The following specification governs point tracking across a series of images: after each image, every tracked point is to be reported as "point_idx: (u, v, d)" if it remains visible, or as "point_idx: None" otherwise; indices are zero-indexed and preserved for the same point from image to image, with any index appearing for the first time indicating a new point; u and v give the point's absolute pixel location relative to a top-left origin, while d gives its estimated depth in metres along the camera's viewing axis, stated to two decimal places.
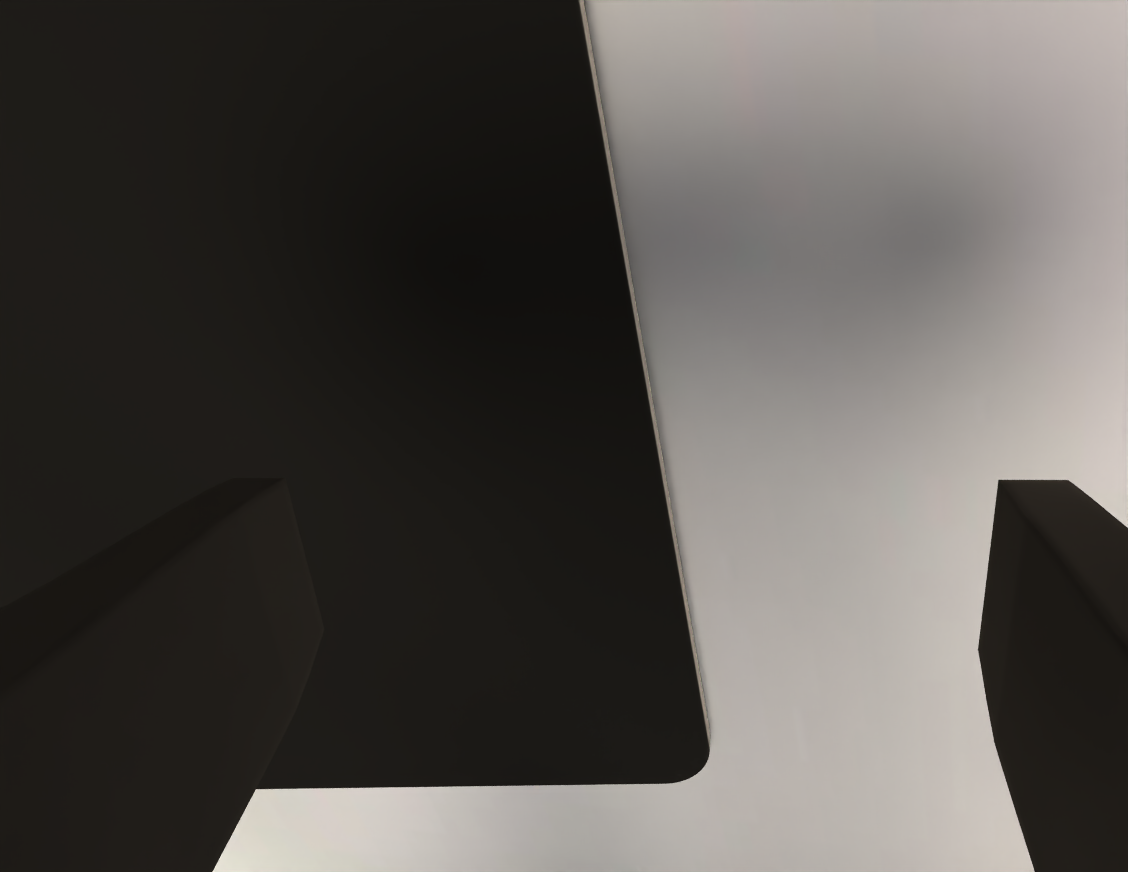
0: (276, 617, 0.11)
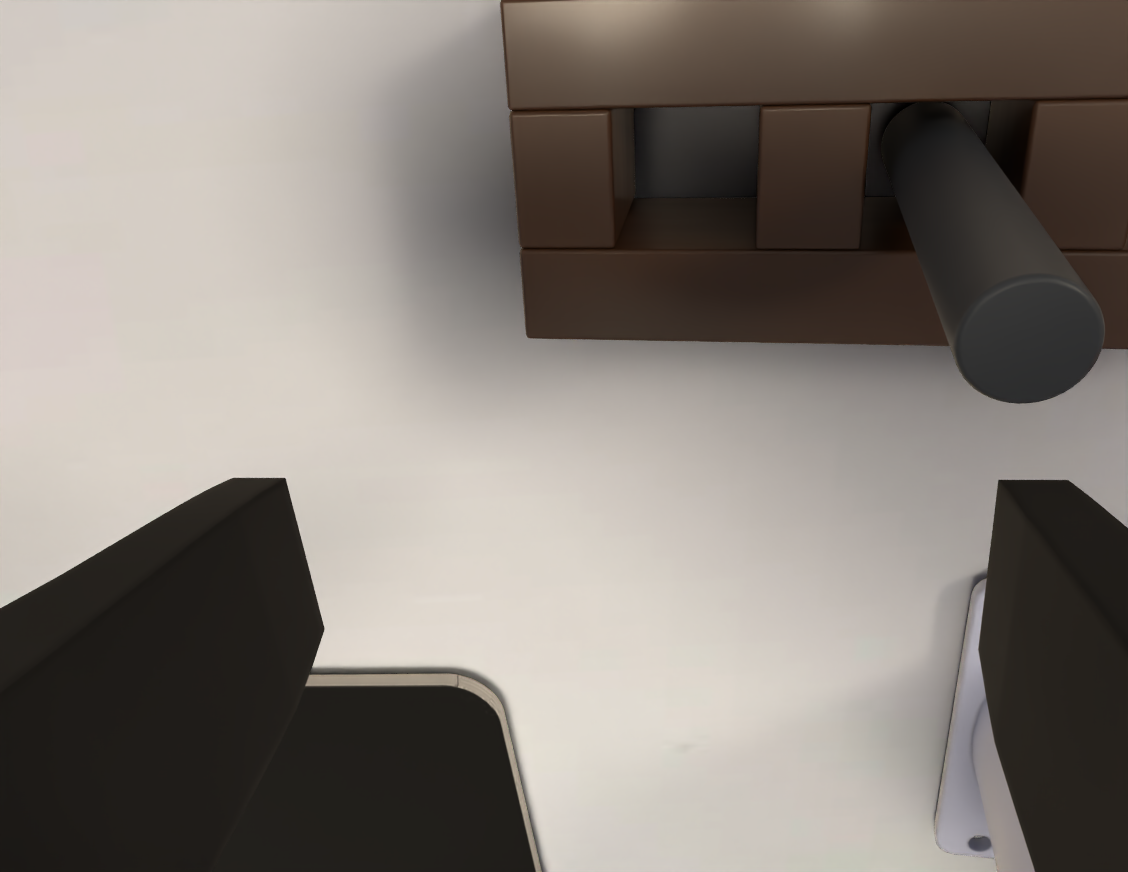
0: (276, 618, 0.11)
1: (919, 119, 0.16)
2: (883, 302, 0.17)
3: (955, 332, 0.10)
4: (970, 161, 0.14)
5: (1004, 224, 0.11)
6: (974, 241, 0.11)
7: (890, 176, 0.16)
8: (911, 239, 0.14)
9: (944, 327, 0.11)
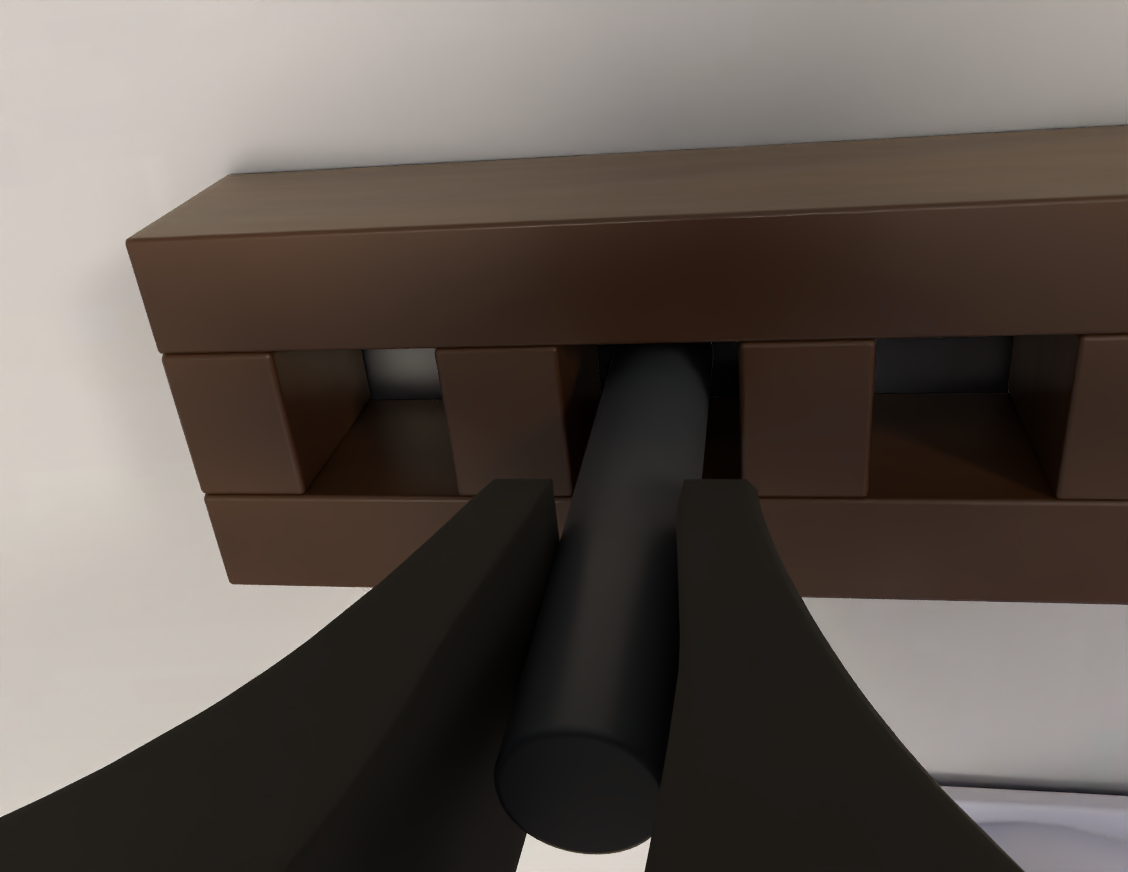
0: None
1: (633, 344, 0.14)
2: None
3: (494, 778, 0.08)
4: (635, 444, 0.11)
5: (594, 597, 0.09)
6: (554, 625, 0.09)
7: None
8: None
9: None
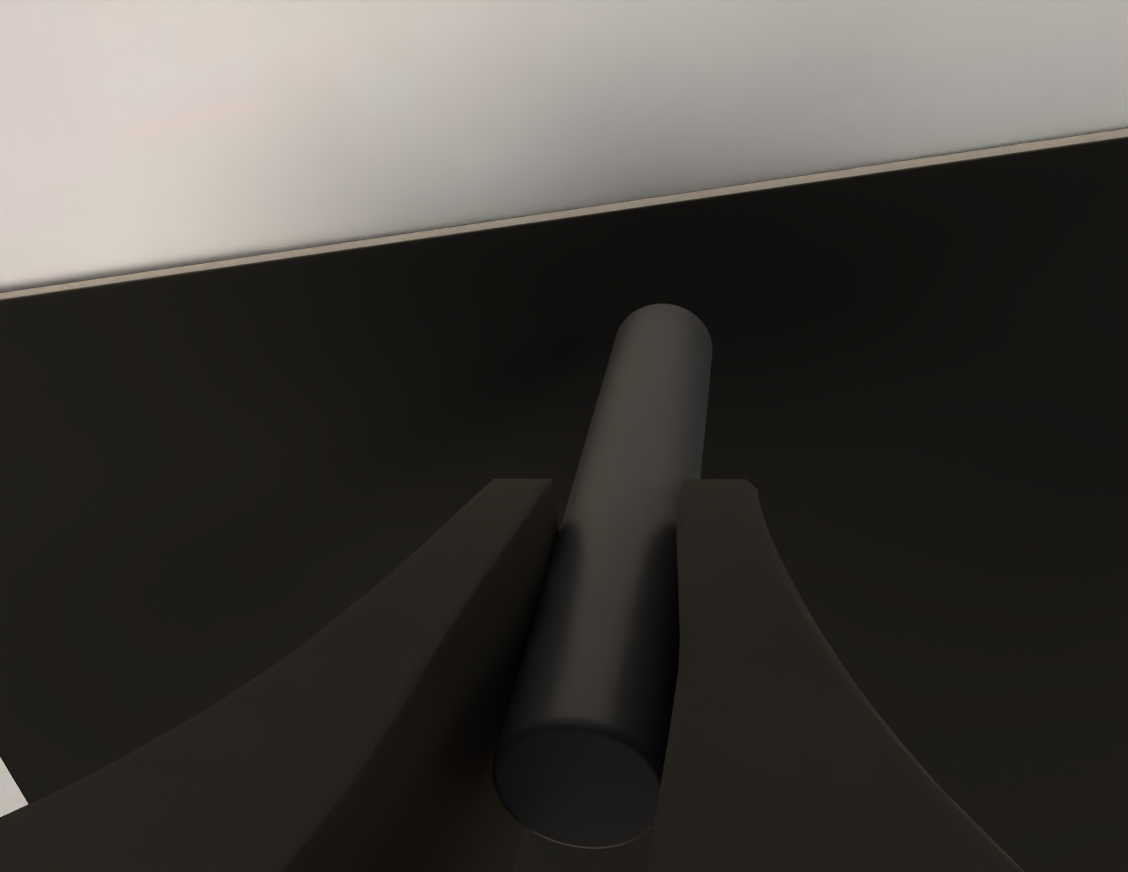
0: None
1: (632, 339, 0.14)
2: None
3: (492, 772, 0.08)
4: (633, 438, 0.11)
5: (593, 590, 0.09)
6: (553, 618, 0.09)
7: None
8: None
9: None
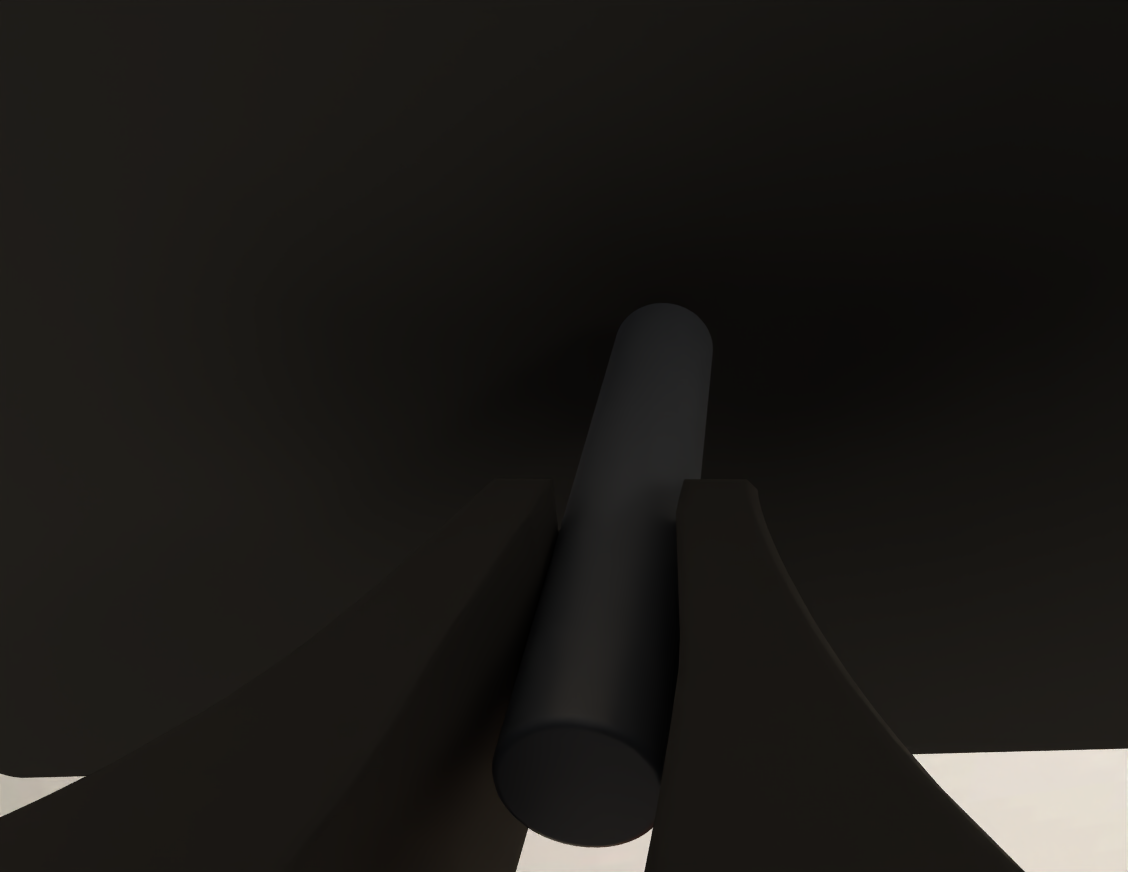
0: None
1: (633, 338, 0.14)
2: None
3: (492, 770, 0.08)
4: (634, 437, 0.11)
5: (593, 589, 0.09)
6: (552, 617, 0.09)
7: None
8: None
9: None
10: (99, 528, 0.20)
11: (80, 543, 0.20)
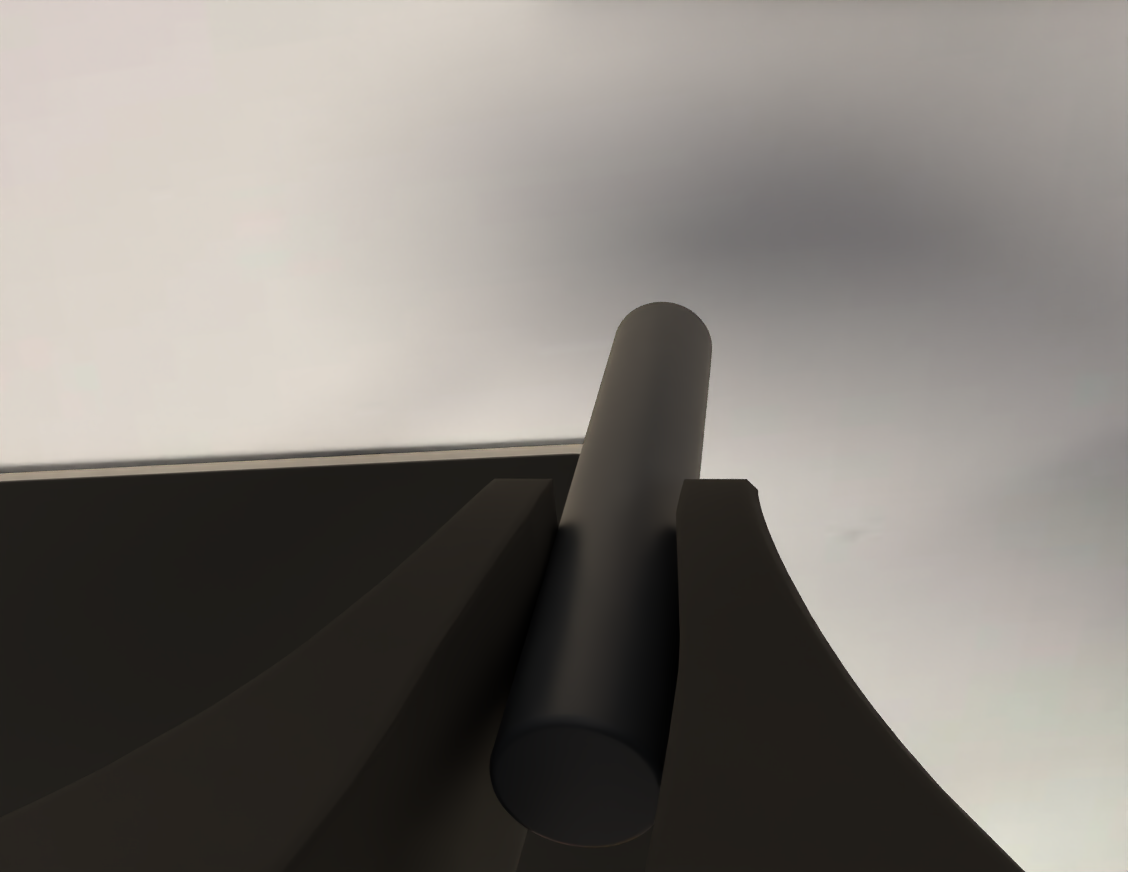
0: None
1: (632, 337, 0.14)
2: None
3: None
4: (632, 436, 0.11)
5: (592, 588, 0.09)
6: (551, 615, 0.09)
7: None
8: None
9: None
10: None
11: None
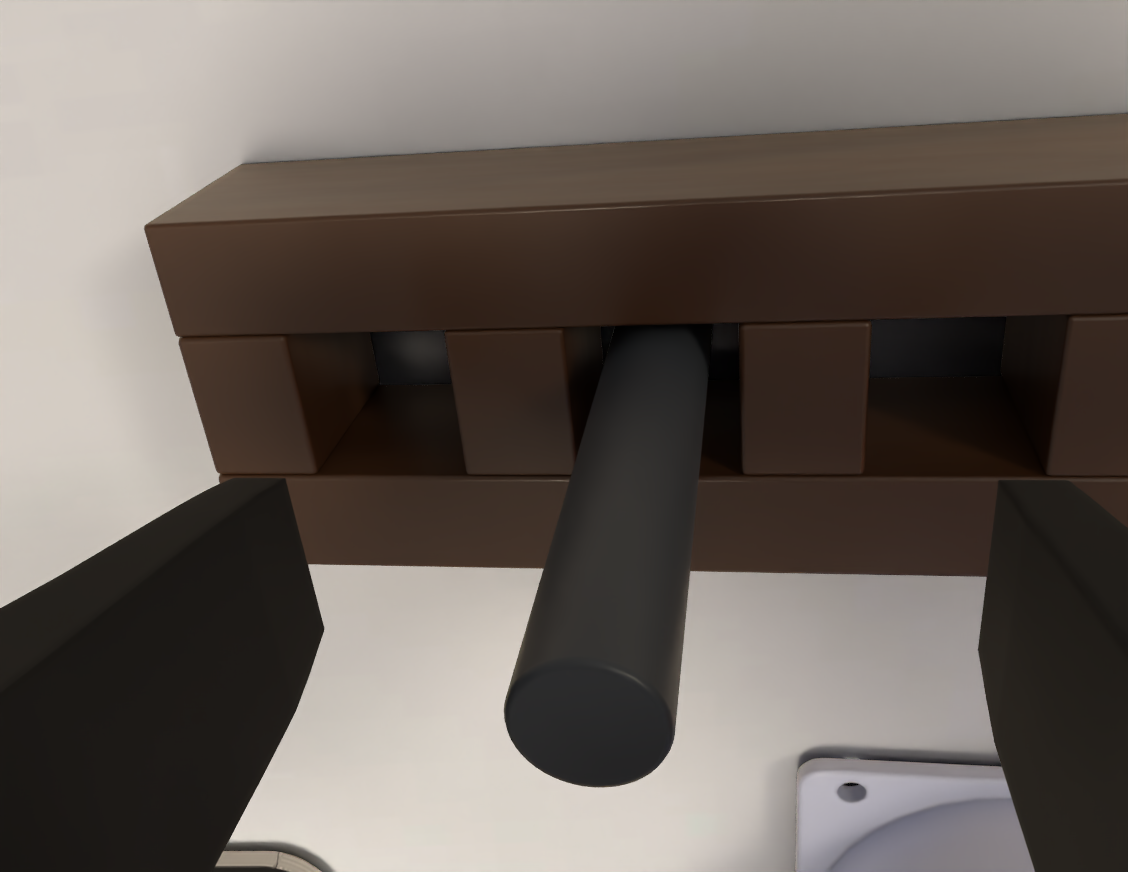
0: (275, 617, 0.11)
1: None
2: None
3: (504, 712, 0.09)
4: (637, 406, 0.12)
5: (600, 543, 0.10)
6: (560, 570, 0.09)
7: None
8: None
9: None
10: None
11: None
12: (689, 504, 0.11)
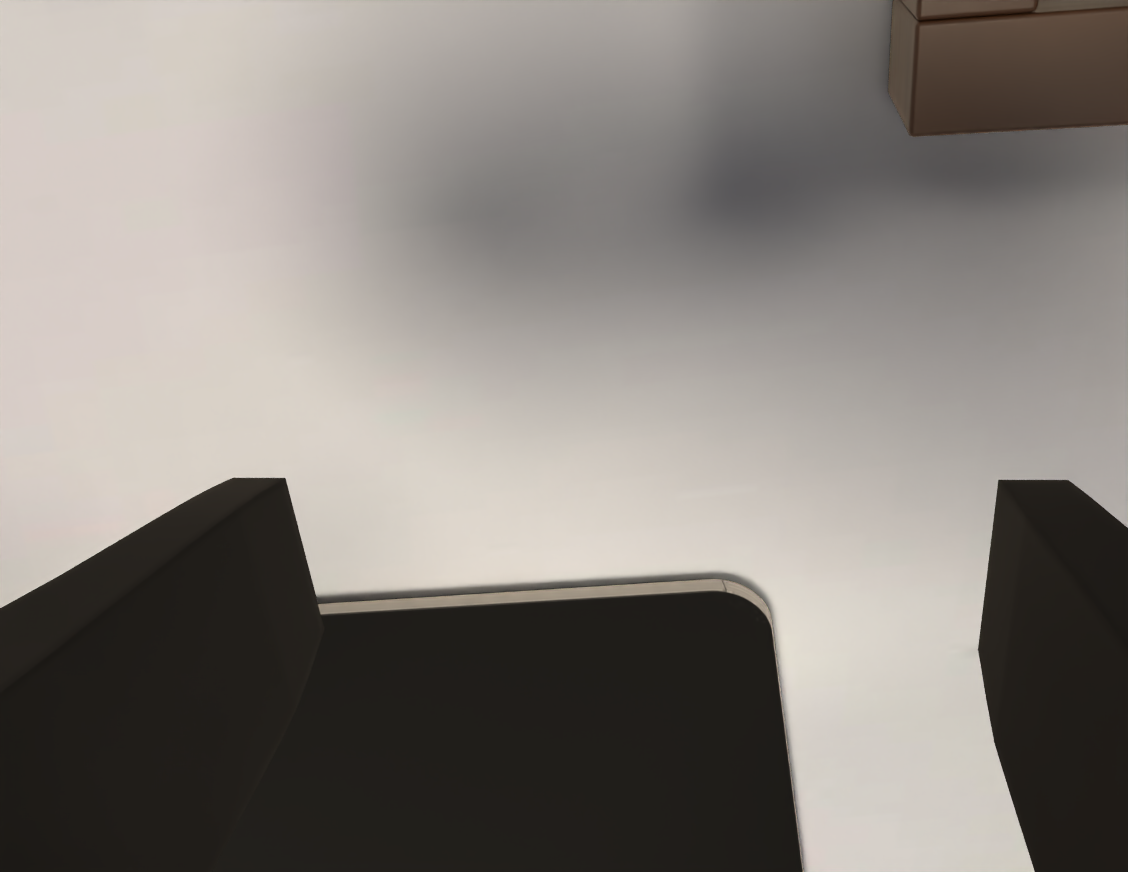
0: (276, 618, 0.11)
1: None
2: None
3: None
4: None
5: None
6: None
7: None
8: None
9: None
10: None
11: None
12: None
